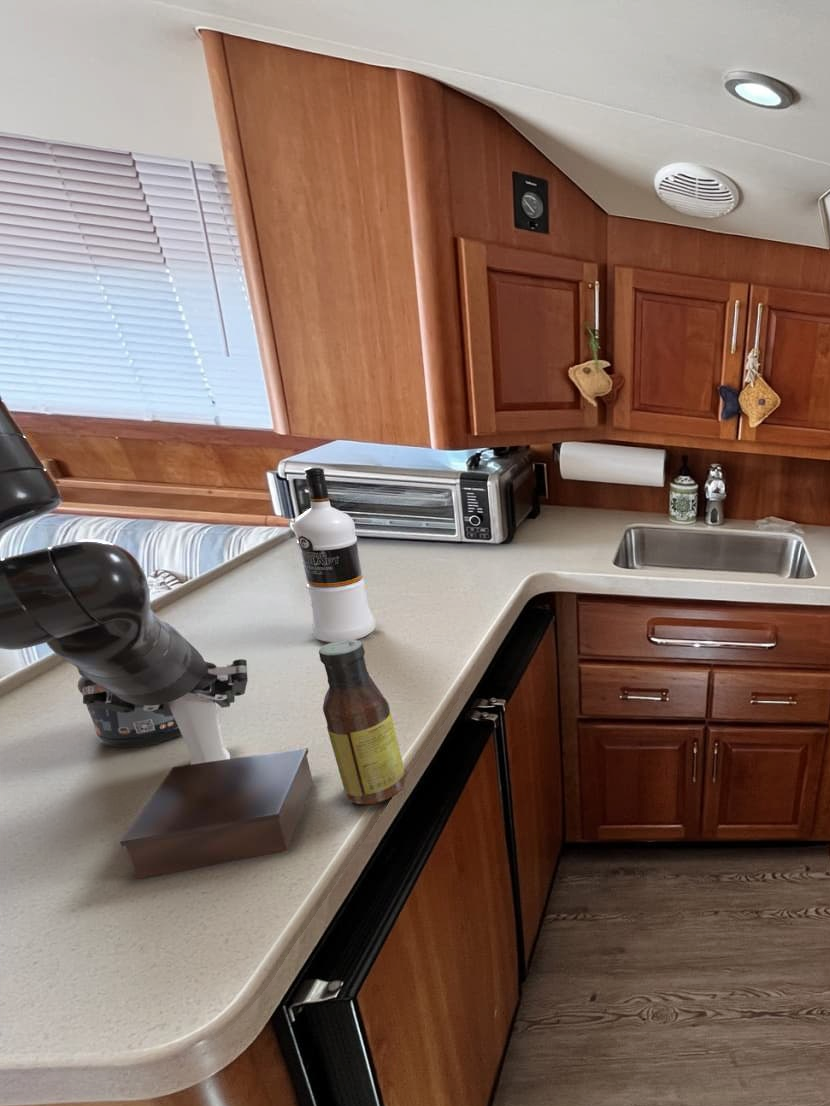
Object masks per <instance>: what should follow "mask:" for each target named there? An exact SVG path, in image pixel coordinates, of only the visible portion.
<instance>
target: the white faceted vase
mask: <svg viewBox="0 0 830 1106" xmlns="http://www.w3.org/2000/svg"><path fill="white" fill-rule="evenodd" d="M216 704H217V703H216V702H215V701H214V700H213V699H210V698H209V699H205V700H199V699H195V698H191V697H181V698H179V699H177V700H174V701H171V702H168V705H169V707H170V709H171V711H172V714H173V716H174V718H175V721H176V723H177V725H178V727H179V730H180V732H181V737H182V738H183V741H184V743H185V746H186V748H187V750H188V752H189V754H190V757H191V758H190V759H191V760H190V765H191V764H198V763H205V762H212V761H219V760H226V759H231V754H230V752H229V750H227V748H226V747H225V745H224V740H223V735H222V731H221V727H220V720H219V715H218V709H217V706H216Z"/></svg>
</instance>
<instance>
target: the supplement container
mask: <svg viewBox="0 0 830 1106" xmlns="http://www.w3.org/2000/svg"><path fill="white" fill-rule="evenodd" d="M76 669H77V672H78V674H79V675H80V676H81V677H80V678H79V679H78V681H77V688H78V691H79V693H80V694H81V695H82V696H83V682H84V681H85V680H89V678H88V677H87V676H86V675H84V673H83V672H82V671H81V670H80V669H79V668H77V667H76ZM85 705H86V708H87V710H88V713H89V716H90V718H91V720H92V723H93V725H94V729H95V733H96V736H97V738H98V739H99V740H100V741H101V742H102V743H104V744H105V745H107V746H111V747H117V748H135V747H145V746H149V745H150V746H151V745H155V744H159V743H162V742H166V741H169V740H171V739H175V738H176V737H179V736H182V734H181V732H180V730H179V727H178V725H177V723H176V721H175V718H174V716H168V717H165V716H164V715H162V714H156V713H154V712H153V711H144V710H143V707H141V708H135V711H133V712H130V713H120V712H116V711H112V710H108V709H104V708H99V707H95V706H91V705H87V704H85Z"/></svg>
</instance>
